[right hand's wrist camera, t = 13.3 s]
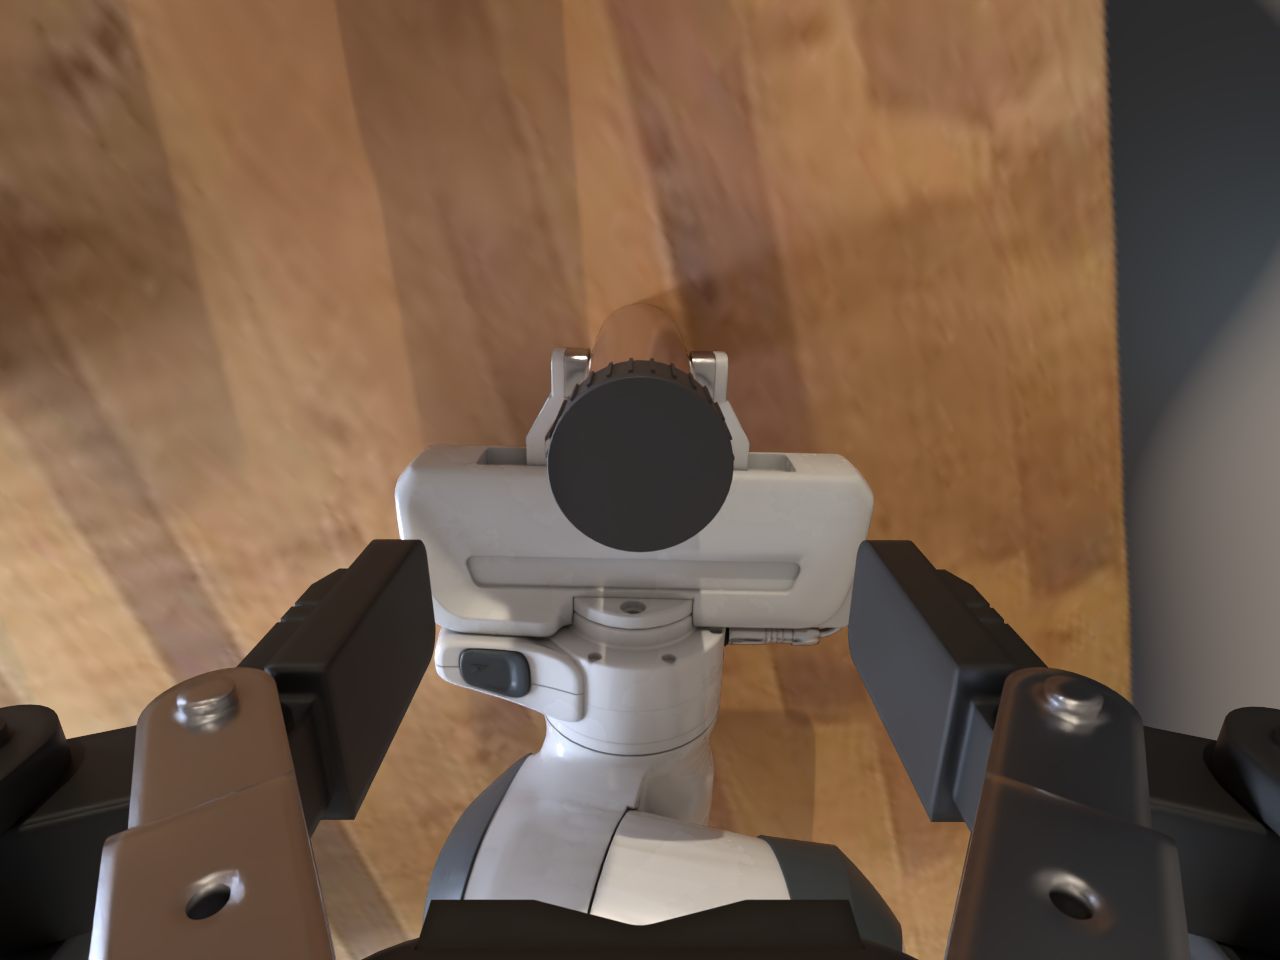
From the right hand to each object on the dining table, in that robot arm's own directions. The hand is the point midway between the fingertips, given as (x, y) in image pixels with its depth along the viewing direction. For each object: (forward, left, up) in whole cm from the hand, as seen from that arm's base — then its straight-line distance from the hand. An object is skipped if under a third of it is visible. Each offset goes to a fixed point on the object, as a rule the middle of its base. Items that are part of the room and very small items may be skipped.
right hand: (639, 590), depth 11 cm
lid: (0, 0, -7) cm, 7 cm away
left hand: (-1, +1, -18) cm, 18 cm away
